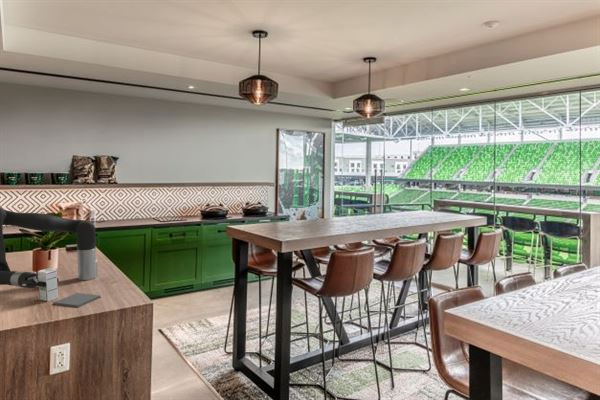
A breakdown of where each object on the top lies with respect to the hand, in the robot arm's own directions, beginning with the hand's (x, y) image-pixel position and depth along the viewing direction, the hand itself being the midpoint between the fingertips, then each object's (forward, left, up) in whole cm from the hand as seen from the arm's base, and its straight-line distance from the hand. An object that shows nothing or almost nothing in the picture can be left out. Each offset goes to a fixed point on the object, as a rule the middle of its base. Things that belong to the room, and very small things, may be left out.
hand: (51, 282), depth 185 cm
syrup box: (0, -2, -9) cm, 9 cm away
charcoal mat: (-2, +13, -9) cm, 15 cm away
